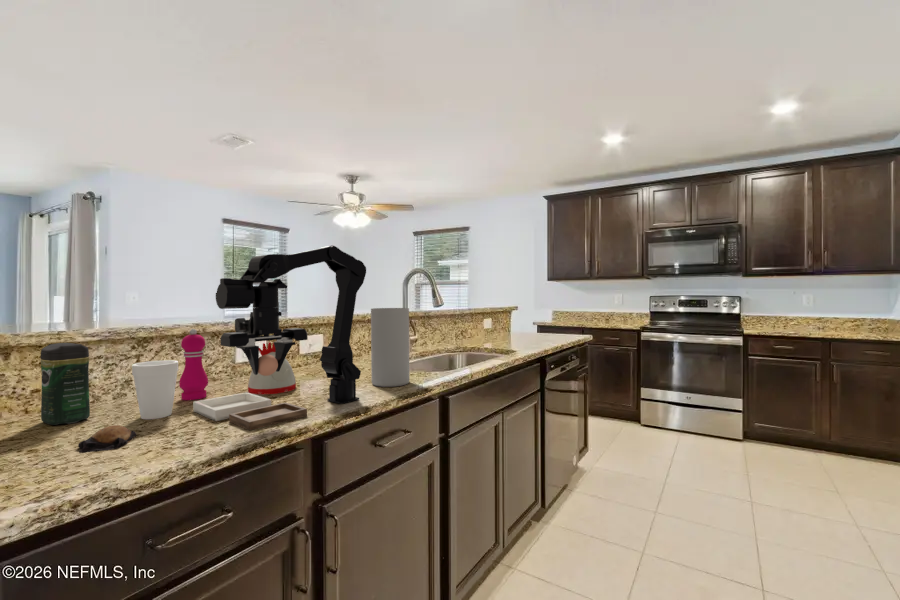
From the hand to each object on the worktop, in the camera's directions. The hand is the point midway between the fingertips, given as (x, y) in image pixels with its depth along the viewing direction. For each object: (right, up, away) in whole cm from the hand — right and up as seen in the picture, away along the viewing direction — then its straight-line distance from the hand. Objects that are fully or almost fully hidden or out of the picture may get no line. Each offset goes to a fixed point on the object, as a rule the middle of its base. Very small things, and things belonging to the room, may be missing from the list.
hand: (266, 373), depth 102 cm
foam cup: (-29, -11, +3) cm, 31 cm away
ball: (0, -1, 0) cm, 1 cm away
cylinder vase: (+24, -11, +40) cm, 48 cm away
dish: (-12, -11, +8) cm, 18 cm away
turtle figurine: (-25, -12, -16) cm, 32 cm away
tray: (+1, -11, 0) cm, 11 cm away
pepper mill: (-30, -11, +22) cm, 39 cm away
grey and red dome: (-12, -11, +33) cm, 37 cm away
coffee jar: (-48, -12, 0) cm, 49 cm away
